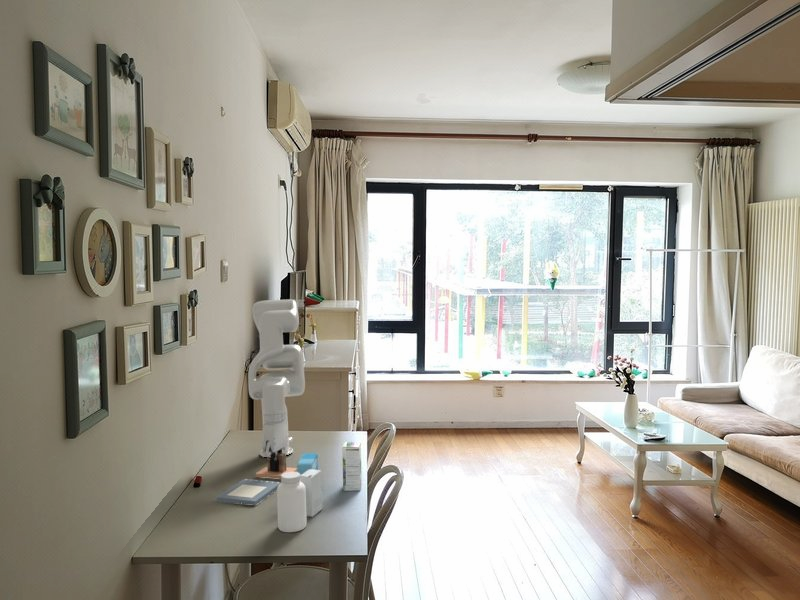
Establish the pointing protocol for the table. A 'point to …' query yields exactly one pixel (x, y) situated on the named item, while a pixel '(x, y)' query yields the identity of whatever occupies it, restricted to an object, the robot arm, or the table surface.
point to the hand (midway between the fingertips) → (276, 468)
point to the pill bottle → (291, 503)
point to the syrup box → (352, 466)
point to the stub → (282, 468)
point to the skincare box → (312, 491)
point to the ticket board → (248, 492)
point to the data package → (307, 462)
